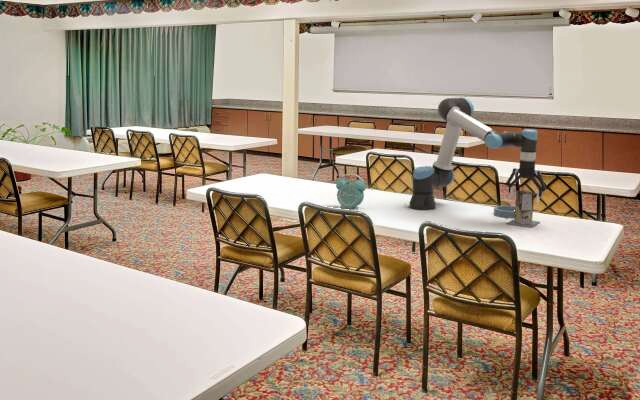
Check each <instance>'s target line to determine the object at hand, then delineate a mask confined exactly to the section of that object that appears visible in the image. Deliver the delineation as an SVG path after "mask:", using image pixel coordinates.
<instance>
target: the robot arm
mask: <svg viewBox="0 0 640 400" xmlns="http://www.w3.org/2000/svg"><path fill="white" fill-rule="evenodd" d="M474 110H475V108H474V104H473V103H472V101H471V99H469V98H466V97H451V98H450V97H446V98H444V99H443V100H441V101H440V103H439V104H438V106H437V113H438V115H439V117H440V118H441V119H442V120H444V121H445V122H446V127H445V130H444V134H443V137H442V142H441V143H440V148H439V151H438V156H437V159H436V160H435V161H434V162H433V164H432V166H430V165H429V166H428V165H424V166H417V167H416V168H415V169H414V170H413V176H412V178H413V179H412V196H411V198H410V201H409V206H408V207H409V208H410V209H413V210H418V211H420V210H421V211H430V210H431V211H432V210H435V209H436V208H437V204H436V200H435V197H434V189H438V188H444V187H448V186H450V185H451V184H452V183H453V182H454V180H455V172H454V167H453V165H452V163H453V158H454V155H455V152H456V149H457V147H458V142H459V139H460V136H461V132H462V130H464V131H466V132H467V133H469V134H471V135H472V136H474V137H476V138H477V139H479V140H481V141H482V142H484V143H485V146H486V147H487V148H489V149H491V150H492V149H494V150H496V149H503V148H510V147H511V148H513V147H514V148H520V156H519V168H516V167H513V169H512V172H511V174H510V175H509V178H508V179H507V181H506V182H505V184H504V185H505V186H508V193H509V201H510V200H513V199H514V192H515V191H514V190H515V187H514V185H515V184H516V183H518V181H519V180H520V179H530V180H531V181H532V182H533V184H534V185H535V187H536V188H537V190H536V200H535V203H536V204H538V203H540V198H541V197H542V195H543V191H545V190H546V189H547V185H546V183H545V181H544V178H543V176H542V170H536V159H537V158H536V157H537V145H538V133H539V132H538V130H536V129H528V128H527V129H523V130H522V131H521V132H516V131H510V130H509V131H508V130H507V131H506V130H505V131H503V132H498V131H496V130H494V129H493V128H491V127H489V126H487V125H486V124H484V123H482V122H481V121H480V120H477V119H476V118H473V115H474V112H475V111H474ZM516 173H518V176H516V178H515V179H513V178H514V177H515V175H516ZM535 175H536V176H537V178H538V180H537V178H536V176H535ZM512 180H513V181H512Z"/></svg>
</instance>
